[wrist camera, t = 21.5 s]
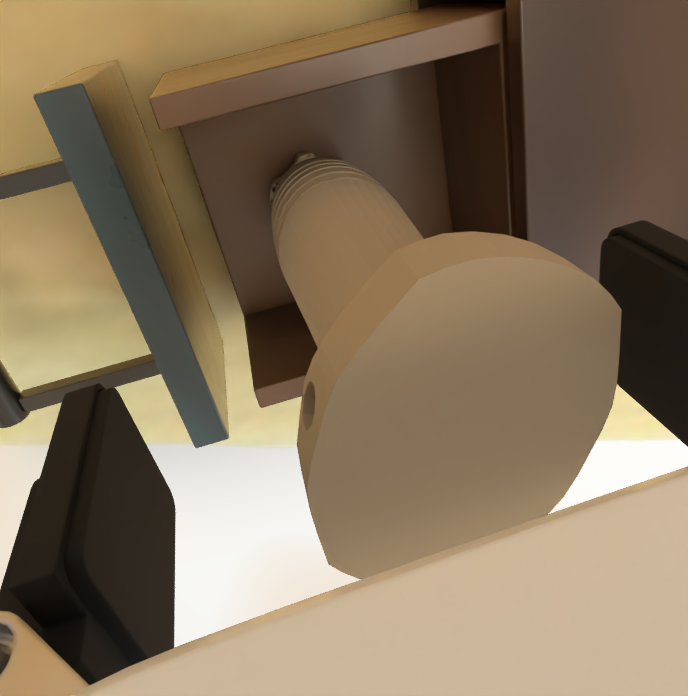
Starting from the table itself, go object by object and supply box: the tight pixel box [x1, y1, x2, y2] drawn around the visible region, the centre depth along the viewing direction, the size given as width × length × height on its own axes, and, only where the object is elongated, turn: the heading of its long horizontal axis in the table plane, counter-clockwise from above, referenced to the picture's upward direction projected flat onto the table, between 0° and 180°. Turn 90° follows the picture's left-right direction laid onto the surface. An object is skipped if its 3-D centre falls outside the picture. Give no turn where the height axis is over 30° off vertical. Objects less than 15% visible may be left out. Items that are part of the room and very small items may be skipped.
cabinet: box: [411, 0, 688, 282], centre depth 21 cm, size 14×13×9 cm
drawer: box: [0, 3, 516, 448], centre depth 20 cm, size 19×11×7 cm, turn 102°
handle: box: [270, 151, 622, 579], centre depth 16 cm, size 5×6×15 cm
